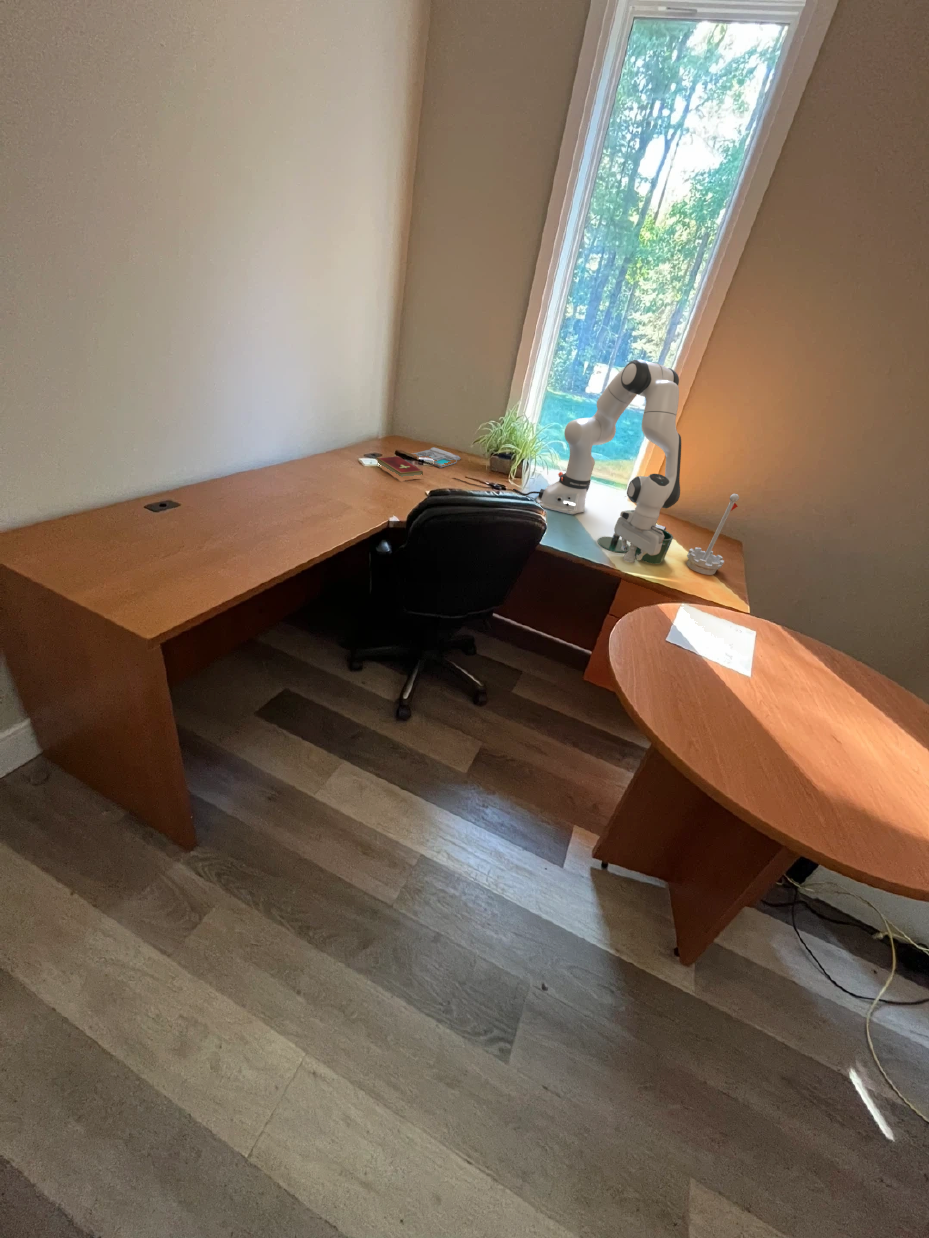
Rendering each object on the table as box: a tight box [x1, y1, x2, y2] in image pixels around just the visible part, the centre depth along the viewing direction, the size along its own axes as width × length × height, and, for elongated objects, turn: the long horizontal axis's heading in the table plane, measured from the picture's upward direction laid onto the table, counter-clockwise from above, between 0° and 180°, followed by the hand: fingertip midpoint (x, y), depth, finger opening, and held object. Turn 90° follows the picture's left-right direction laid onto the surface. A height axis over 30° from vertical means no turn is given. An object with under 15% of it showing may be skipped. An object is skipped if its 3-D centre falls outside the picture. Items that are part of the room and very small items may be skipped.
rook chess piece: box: [622, 542, 637, 564], centre depth 184 cm, size 4×4×8 cm
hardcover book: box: [376, 455, 424, 477], centre depth 227 cm, size 12×21×4 cm, turn 39°
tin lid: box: [597, 532, 630, 554], centre depth 193 cm, size 13×13×5 cm
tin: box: [635, 527, 674, 565], centre depth 188 cm, size 12×17×10 cm
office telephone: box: [412, 446, 461, 469], centre depth 253 cm, size 23×3×20 cm
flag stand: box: [686, 493, 740, 576], centre depth 182 cm, size 13×13×30 cm
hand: (630, 554), depth 184 cm, fingers open, 6 cm apart
